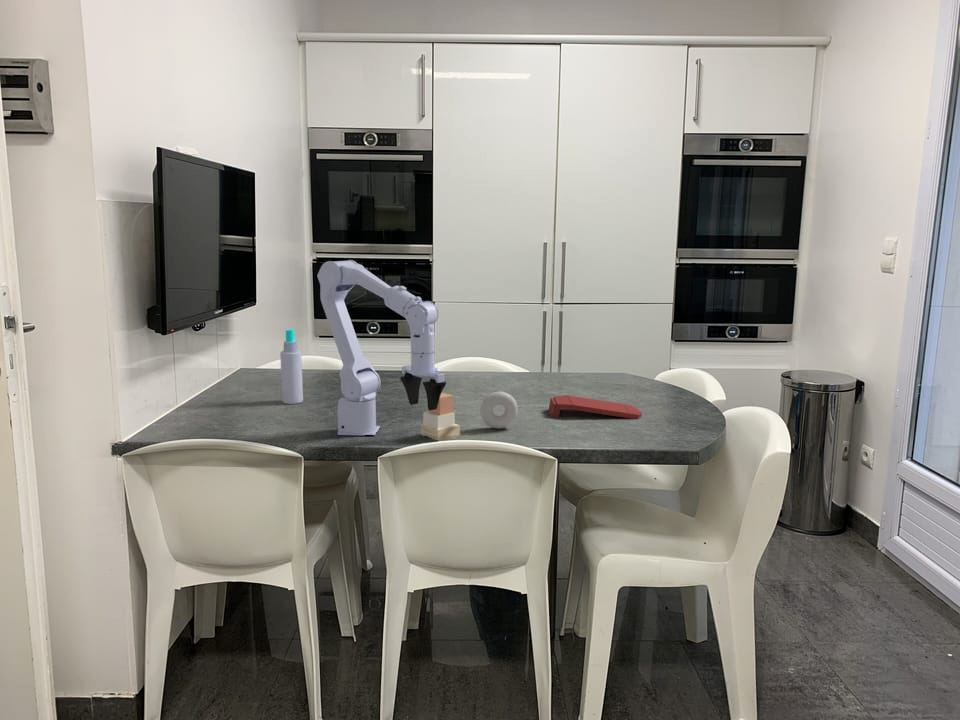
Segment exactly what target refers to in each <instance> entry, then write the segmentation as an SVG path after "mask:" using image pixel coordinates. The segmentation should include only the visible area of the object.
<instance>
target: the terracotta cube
mask: <svg viewBox="0 0 960 720" xmlns="http://www.w3.org/2000/svg"><path fill="white" fill-rule="evenodd" d="M428 411H429V413H433V414H436V415H440V416H441V415H445V414H450V413H455V412H454V395H453V394H448V393H445V392H442V393H441V395H440V398H439V402H438V406H437V409H436V410H429V409H428Z"/></svg>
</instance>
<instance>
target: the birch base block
mask: <svg viewBox="0 0 960 720" xmlns="http://www.w3.org/2000/svg"><path fill="white" fill-rule="evenodd" d="M421 434H422V435H425V436H428V437H430V438H433V439H436V440H442V441H445V439H446V438H450V439H452V438H451V437H454V436H458V435H460V434H461V425H460V424H457V423H455V425H453V426H449V427H444V428H440V429H436V428H433V427H429V426H426V425H423V423H421V424H420V435H421ZM460 436H461V435H460ZM430 438H429V439H430ZM454 438H455V437H454ZM433 439H432V440H433ZM436 440H435V441H436ZM446 440H447V439H446Z"/></svg>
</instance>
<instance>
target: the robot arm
mask: <svg viewBox="0 0 960 720" xmlns="http://www.w3.org/2000/svg"><path fill="white" fill-rule="evenodd" d="M316 276H317V279H318V282H319V285H320V288H319V289H320V290H319V291H320V293H319V295H320V296H319V297H320V302H321V305H322V308H323V311H324V314H325V317H326V319H327V322H328V324H329V328H330V330H331V333H332V336H333V339H334V342H335V345H336V348H337V351H338V354H339V356H340V359H341V362H342V367H341V369H340V371H339V378H340V390H341V392H342V395H343V396H344V397H340V398H339V399H338V403H337V436H365V435H374V436H375V435H376V434H377V433H378V431H379V430H380V429H381V426H380V425H377V412H376V411H377V407H376V405H377V404H376V399H377V398H376V397H377V392H378V391H379V390H380V388H381V385H382V384H381V378H380V375H379V374H378V373H377V372H376V370H375V369H374V366H373V363H371V361H369V360H367V359H366V358H365V357H364V354H363V351H362V349H361V345H360V342H359V340H358V337H357V334H356V332H355V329H354V325H353V323H352V319H351V317H350V314H349V312H348V308H347V305H346V302H345V299H346V297H347V295H348V293H349V292H350V291H351V290H352V289H353V288H354V287H355V286H356V285H357V286H361V288H364V289H366V290H368V291H369V292H371V293H373V294H375V295H377V296H378V297H380V298H382V299H383V301H384V305H385V306H386V307H388V308H389V309H391V310H392V311H394V312H395V313H397V314H399V315H400V316H402V317H403V318H405V320H406V322H407V324H408V325H409V332H410V365H402V366H401V372H402V373H401V374H402V375H404V376H400V377H399V378H400V381H401V383H402V385H403V387H404V389H405V392H406V395H407V399H408V403H409V405H410V406H412V405H417V404H419V401H420V400H419V399H420V398H419V397H420V387H421V383H422V384H423V387H424V390H425V393H426V403H427V408H428V411H429V410H436V409H437V406H438V402H439V398H440V395H441V393H443V390H444V388H445V387H446V385H447V381H445V379H446V376H445V373H443V372H440V371H439V370H438V368H436V367H435V323H436V322H437V321H438V318H439V316H440V315H439V309H438V307H437V306H436V304H434V303H433V301H430V300H422V298H421V296H418V295H417V296H416V295H414V294H412V293H410V291H408V290H407V287H405V286H404V285H395V286H391V285H389V284H387V283H386V282H385V281H383V280H382V279H381V278H379V277H378V276H376V275H375V274H373V273H372V272H371V271H369V270H368V269H366V268H365V267H364V266H363V264H360V263H357V261H355V260H353V259H348V260H337V261H331V260H328V261H325V262H324V263H322V265H321V266H320V268H319V271H318V272H317V275H316ZM423 379H426V380H428V381H424V382H423V381H422V380H423ZM379 428H380V429H379ZM376 432H377V433H376Z"/></svg>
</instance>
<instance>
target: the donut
mask: <svg viewBox="0 0 960 720" xmlns="http://www.w3.org/2000/svg"><path fill="white" fill-rule="evenodd" d="M497 405H502V406H503V408H504V412H503V413H502V414H501V415H495V413H494V411H493V410H494V407H495V406H497ZM479 408H480V409H479V413H480V418H481V419H482V421H483V422H484V423H485V424H486V425H487V426H488V427H490V428H492V429H498V430H500V429H504V428H507V427H509V426H510V425H512V423H514V421H515V420H516V418H517V415H518V411H519V408H518V404H517V401H516V399H515V398H514V397H513V396H512V395H511V394H510V393H507V392H505V391H494V392H491V393H489V394H487V395H486V396H485V397H484V398H483V400H482V402H481V404H480V407H479Z"/></svg>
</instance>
